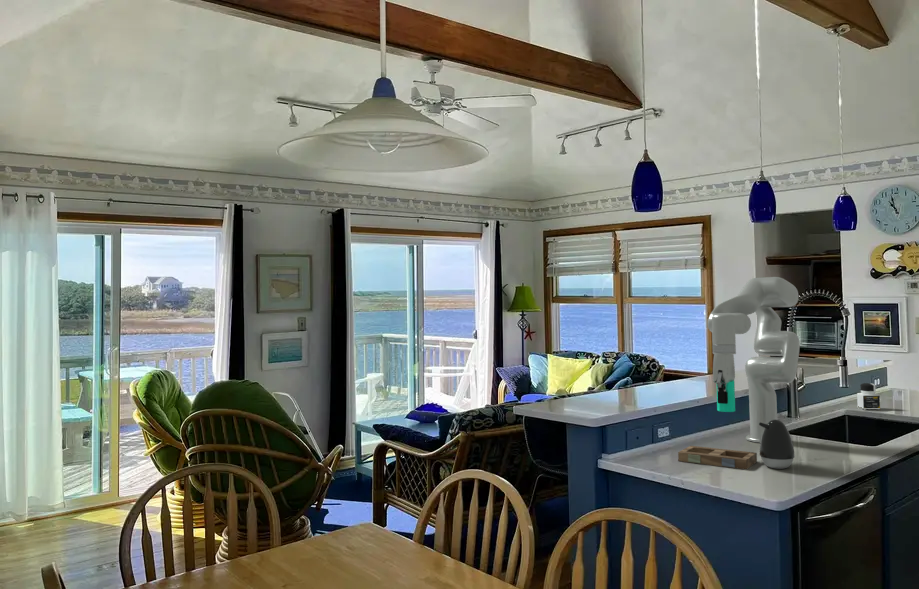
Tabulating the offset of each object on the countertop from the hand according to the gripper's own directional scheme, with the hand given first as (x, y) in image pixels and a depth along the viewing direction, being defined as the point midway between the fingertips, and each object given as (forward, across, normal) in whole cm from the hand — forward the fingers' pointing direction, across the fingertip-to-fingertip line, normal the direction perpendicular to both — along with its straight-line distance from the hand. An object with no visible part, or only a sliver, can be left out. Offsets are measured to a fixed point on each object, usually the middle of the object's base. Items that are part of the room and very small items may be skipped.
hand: (725, 401), depth 236 cm
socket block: (+19, +9, -1) cm, 21 cm away
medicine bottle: (+17, -127, +27) cm, 131 cm away
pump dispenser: (+19, +7, +18) cm, 27 cm away
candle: (+3, 0, 0) cm, 3 cm away
